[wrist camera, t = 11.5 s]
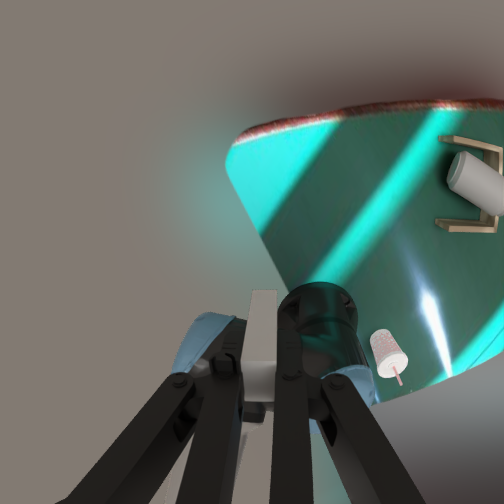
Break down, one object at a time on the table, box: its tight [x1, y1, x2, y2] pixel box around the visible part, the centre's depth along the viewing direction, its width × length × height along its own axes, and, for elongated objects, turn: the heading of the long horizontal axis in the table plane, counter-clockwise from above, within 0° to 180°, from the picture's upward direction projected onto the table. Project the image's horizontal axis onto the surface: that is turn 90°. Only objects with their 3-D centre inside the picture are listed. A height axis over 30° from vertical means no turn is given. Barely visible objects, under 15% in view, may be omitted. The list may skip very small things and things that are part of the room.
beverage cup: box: [370, 329, 408, 386], centre depth 45 cm, size 6×6×14 cm
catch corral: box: [435, 136, 503, 233], centre depth 38 cm, size 16×13×5 cm
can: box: [447, 151, 504, 217], centre depth 34 cm, size 8×8×12 cm
